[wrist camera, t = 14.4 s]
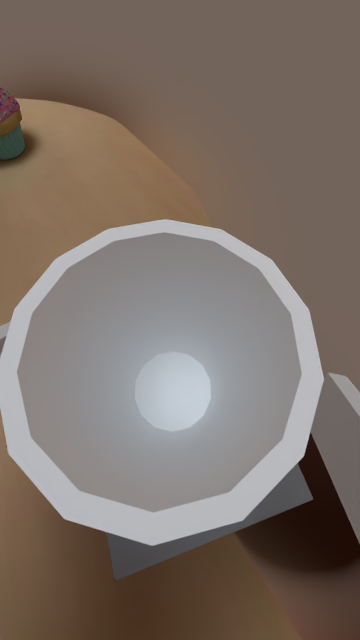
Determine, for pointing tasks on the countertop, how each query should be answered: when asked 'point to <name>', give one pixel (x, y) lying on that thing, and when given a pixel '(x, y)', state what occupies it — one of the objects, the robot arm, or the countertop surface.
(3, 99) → the cupcake
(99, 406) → the foam cup
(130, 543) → the pedestal
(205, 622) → the countertop surface
